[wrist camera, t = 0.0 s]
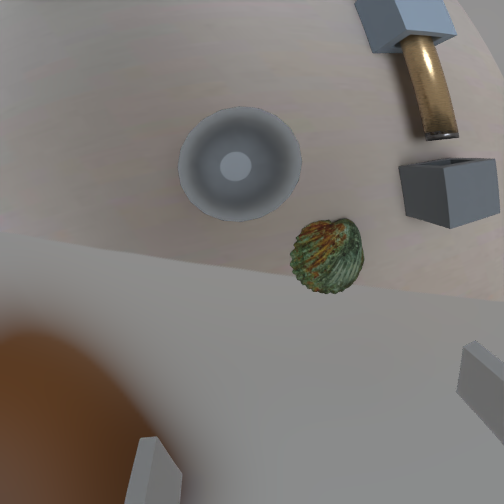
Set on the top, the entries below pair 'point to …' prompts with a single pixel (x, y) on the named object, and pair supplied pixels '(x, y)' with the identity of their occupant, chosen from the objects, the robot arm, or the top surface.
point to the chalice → (239, 164)
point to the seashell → (328, 256)
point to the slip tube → (429, 87)
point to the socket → (451, 190)
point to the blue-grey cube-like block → (403, 22)
